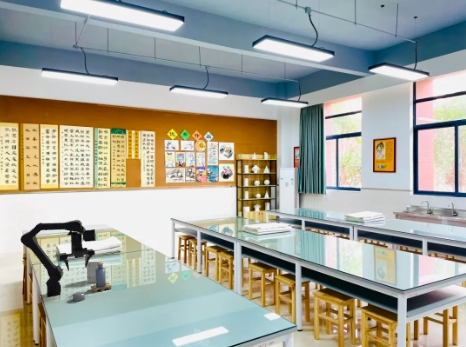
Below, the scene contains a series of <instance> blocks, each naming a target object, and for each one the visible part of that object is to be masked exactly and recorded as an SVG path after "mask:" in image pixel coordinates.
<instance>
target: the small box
mask: <svg viewBox="0 0 466 347" xmlns="http://www.w3.org/2000/svg"><path fill="white" fill-rule="evenodd" d="M100 261H103V258H95V259H91V258H90V259H89V261H88V264H87V267H86V280H87V281H86V282H87V283H96V269H97V268H98V264H97V262H100Z"/></svg>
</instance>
